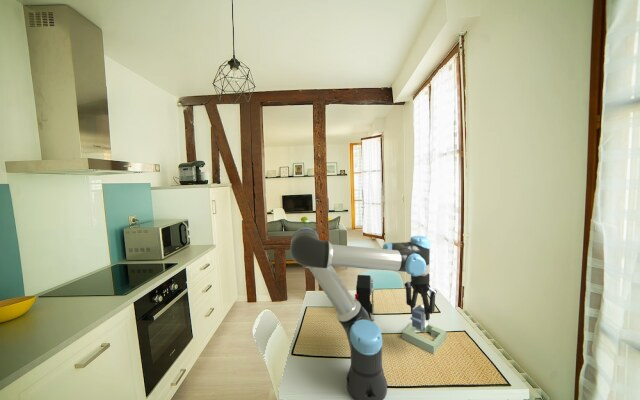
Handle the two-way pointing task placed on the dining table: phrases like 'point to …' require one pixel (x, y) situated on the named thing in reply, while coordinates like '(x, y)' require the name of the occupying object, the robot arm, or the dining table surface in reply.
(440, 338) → the green tray
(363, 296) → the electrical component
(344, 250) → the robot arm
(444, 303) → the dining table surface
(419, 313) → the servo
